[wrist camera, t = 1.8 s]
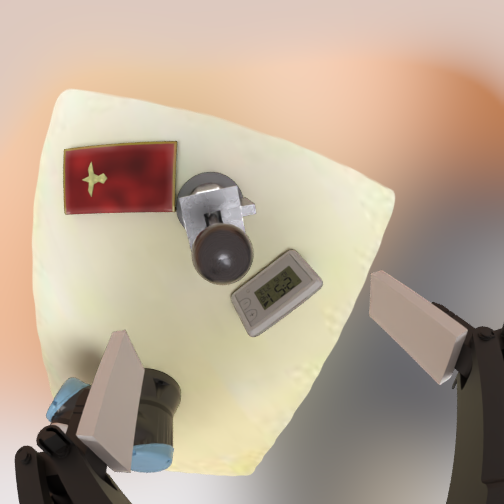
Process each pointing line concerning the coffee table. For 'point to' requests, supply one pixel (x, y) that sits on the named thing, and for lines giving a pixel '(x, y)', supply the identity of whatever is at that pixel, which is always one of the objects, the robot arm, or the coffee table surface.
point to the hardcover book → (120, 178)
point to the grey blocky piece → (213, 207)
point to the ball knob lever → (221, 251)
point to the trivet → (198, 181)
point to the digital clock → (275, 292)
